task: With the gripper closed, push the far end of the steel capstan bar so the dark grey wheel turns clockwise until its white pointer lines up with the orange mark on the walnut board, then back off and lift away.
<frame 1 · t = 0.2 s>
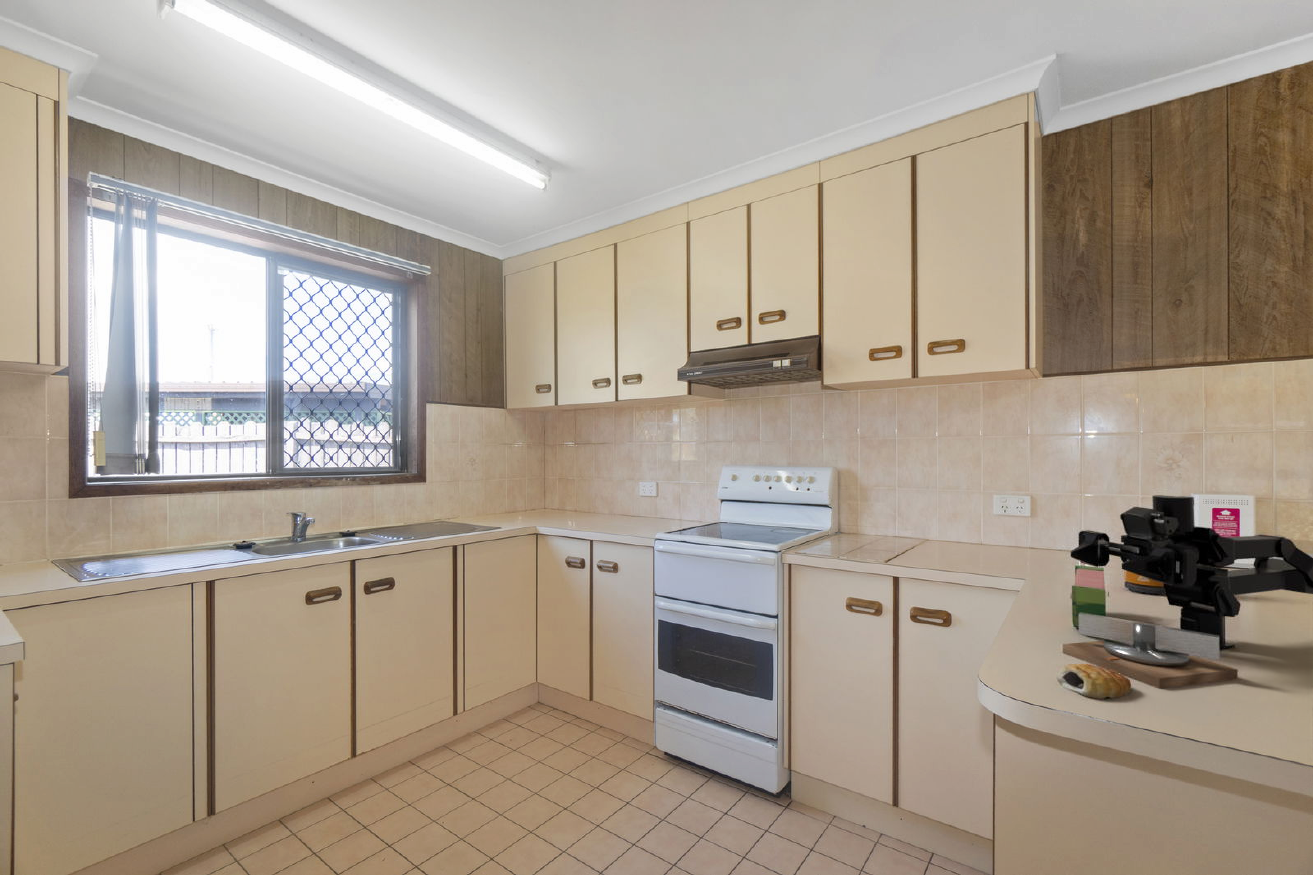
hand: (1095, 560, 104), 17 cm above the countertop, tool horizontal, fingers open, 9 cm apart
pastry: (1093, 692, 89), on the countertop
canister: (1152, 593, 150), on the countertop
dial board: (1145, 665, 99), on the countertop
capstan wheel: (1144, 639, 99), point 4 cm above the countertop, hinge at 0.0°
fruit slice: (1090, 626, 122), on the countertop
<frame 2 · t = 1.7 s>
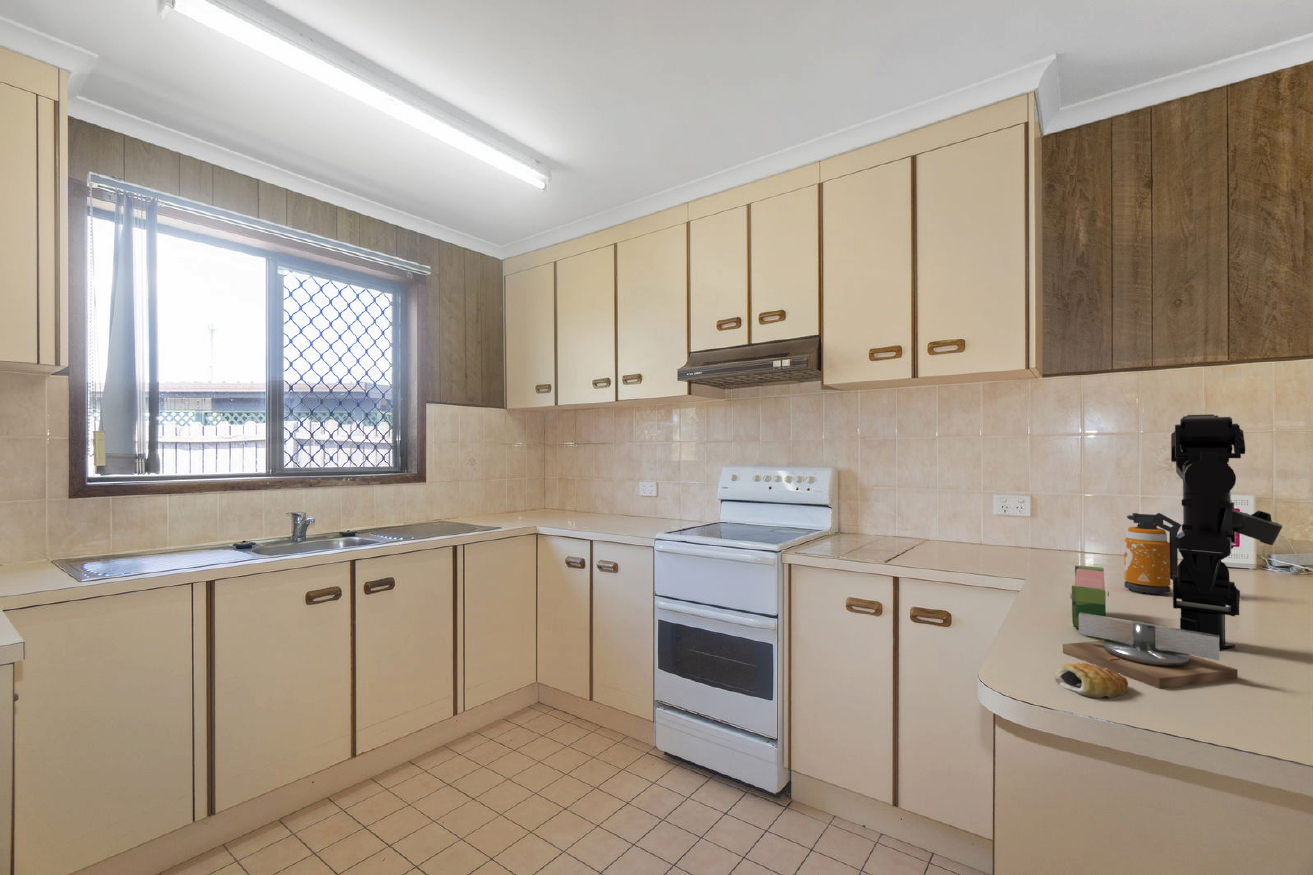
hand: (1207, 589, 97), 13 cm above the countertop, tool pointing down, fingers open, 6 cm apart
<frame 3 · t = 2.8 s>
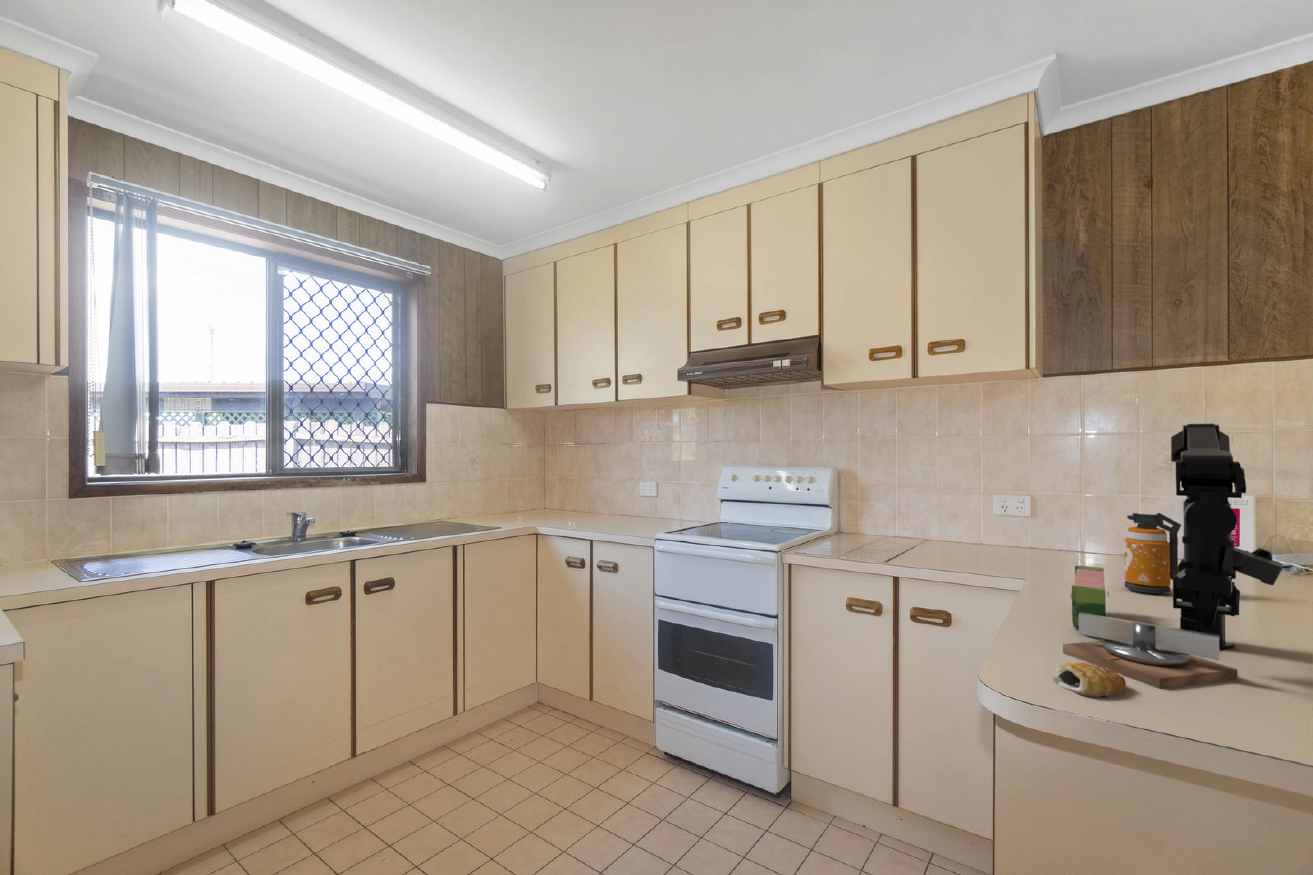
hand: (1207, 627, 97), 7 cm above the countertop, tool pointing down, fingers closed
nothing on the countertop moved.
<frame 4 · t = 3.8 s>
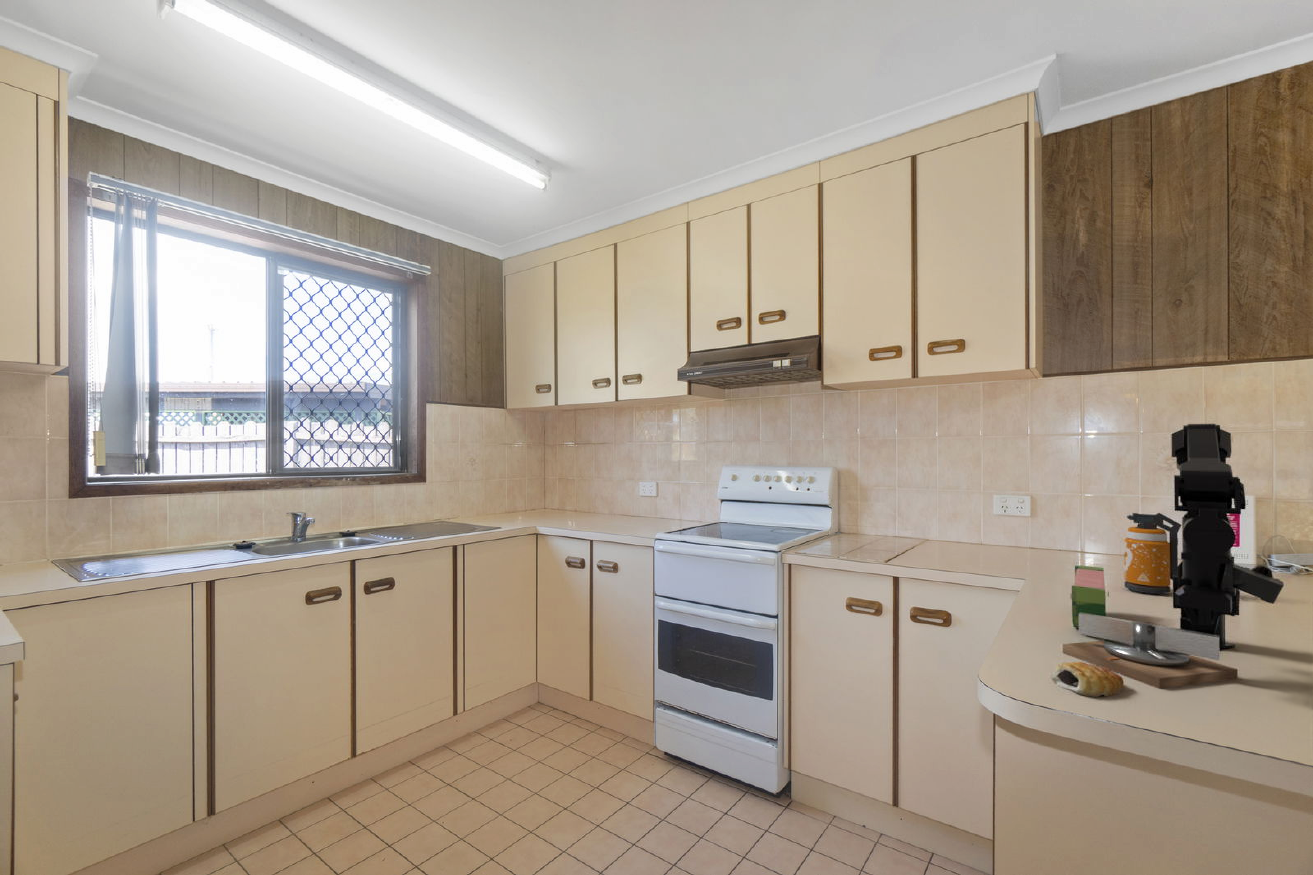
hand: (1207, 645, 95), 5 cm above the countertop, tool pointing down, fingers closed
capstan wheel: (1144, 639, 99), point 4 cm above the countertop, hinge at 0.0°, touching gripper
everything else where it was.
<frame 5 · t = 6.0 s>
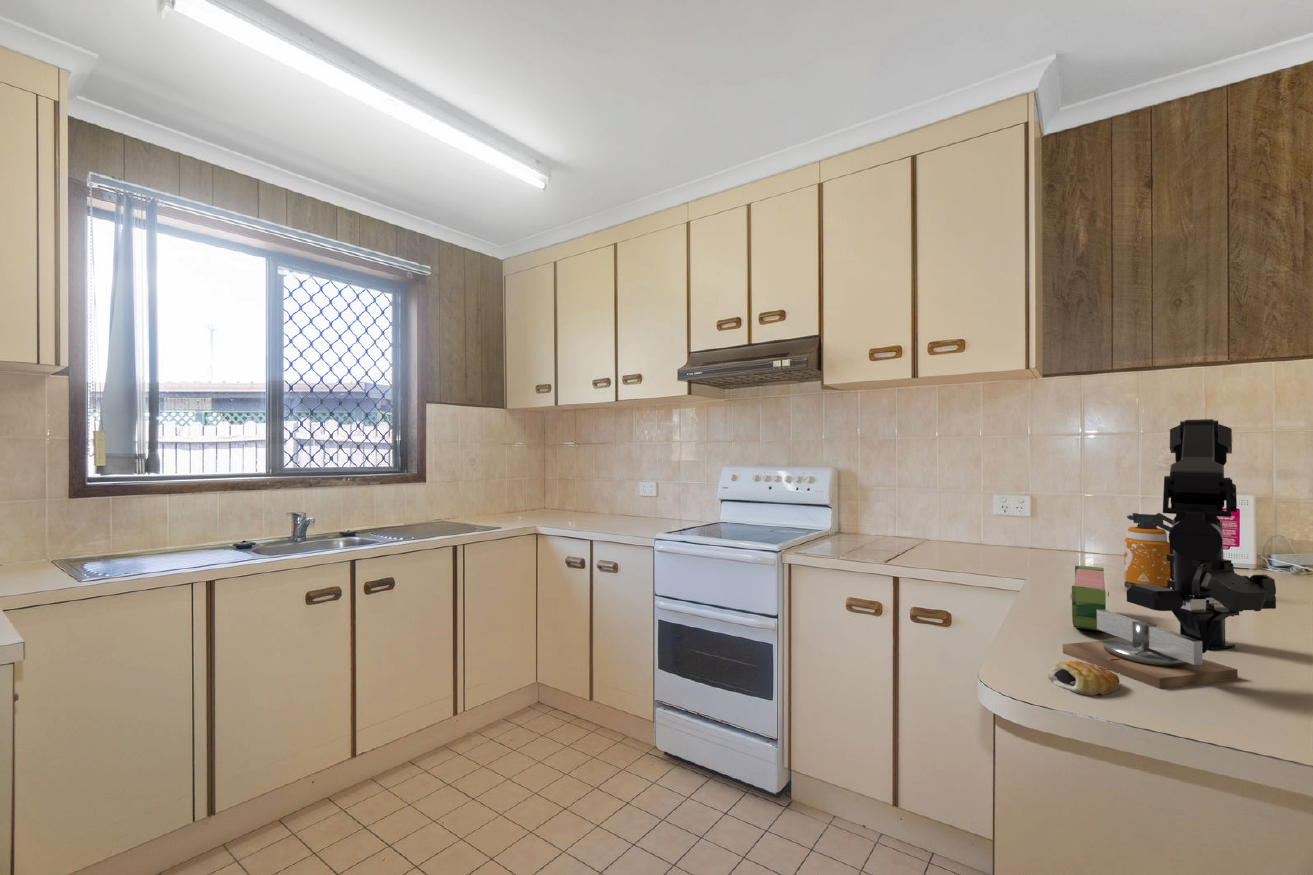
hand: (1200, 652, 92), 5 cm above the countertop, tool pointing down, fingers closed
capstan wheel: (1144, 639, 99), point 4 cm above the countertop, hinge at 39.6°, touching gripper
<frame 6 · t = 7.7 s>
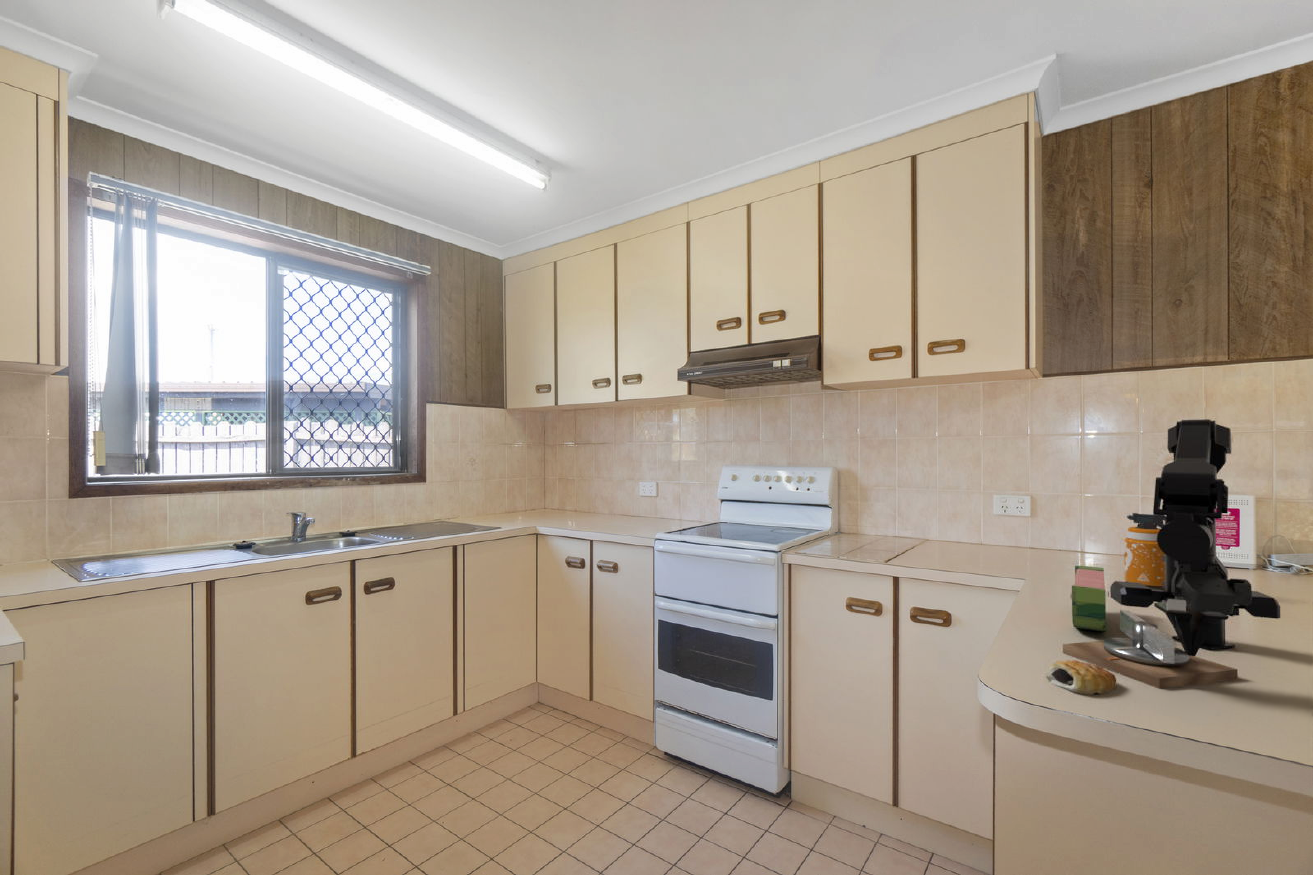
hand: (1190, 655, 91), 4 cm above the countertop, tool pointing down, fingers closed
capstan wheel: (1144, 639, 99), point 4 cm above the countertop, hinge at 65.3°
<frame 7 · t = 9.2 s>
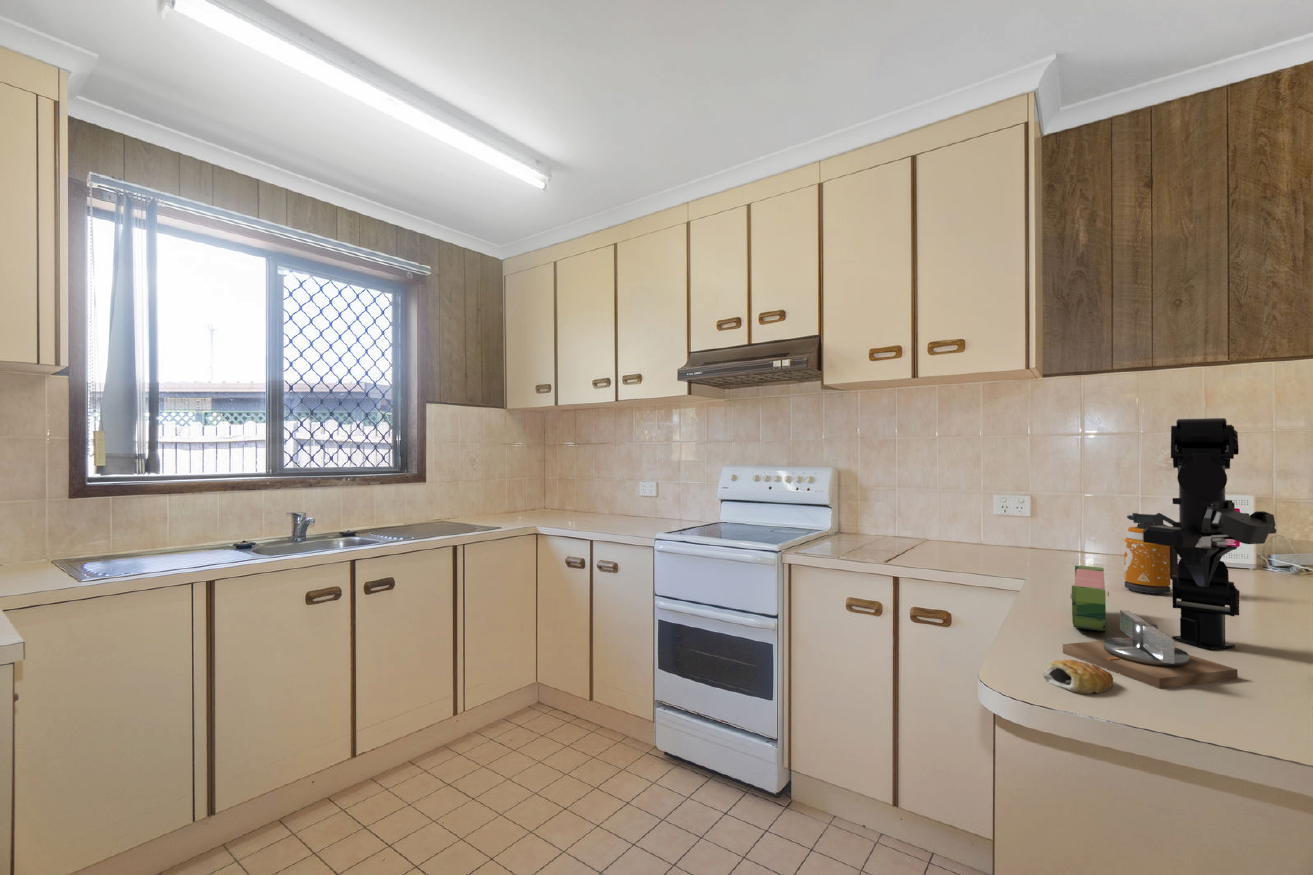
hand: (1202, 586, 100), 13 cm above the countertop, tool pointing down, fingers closed
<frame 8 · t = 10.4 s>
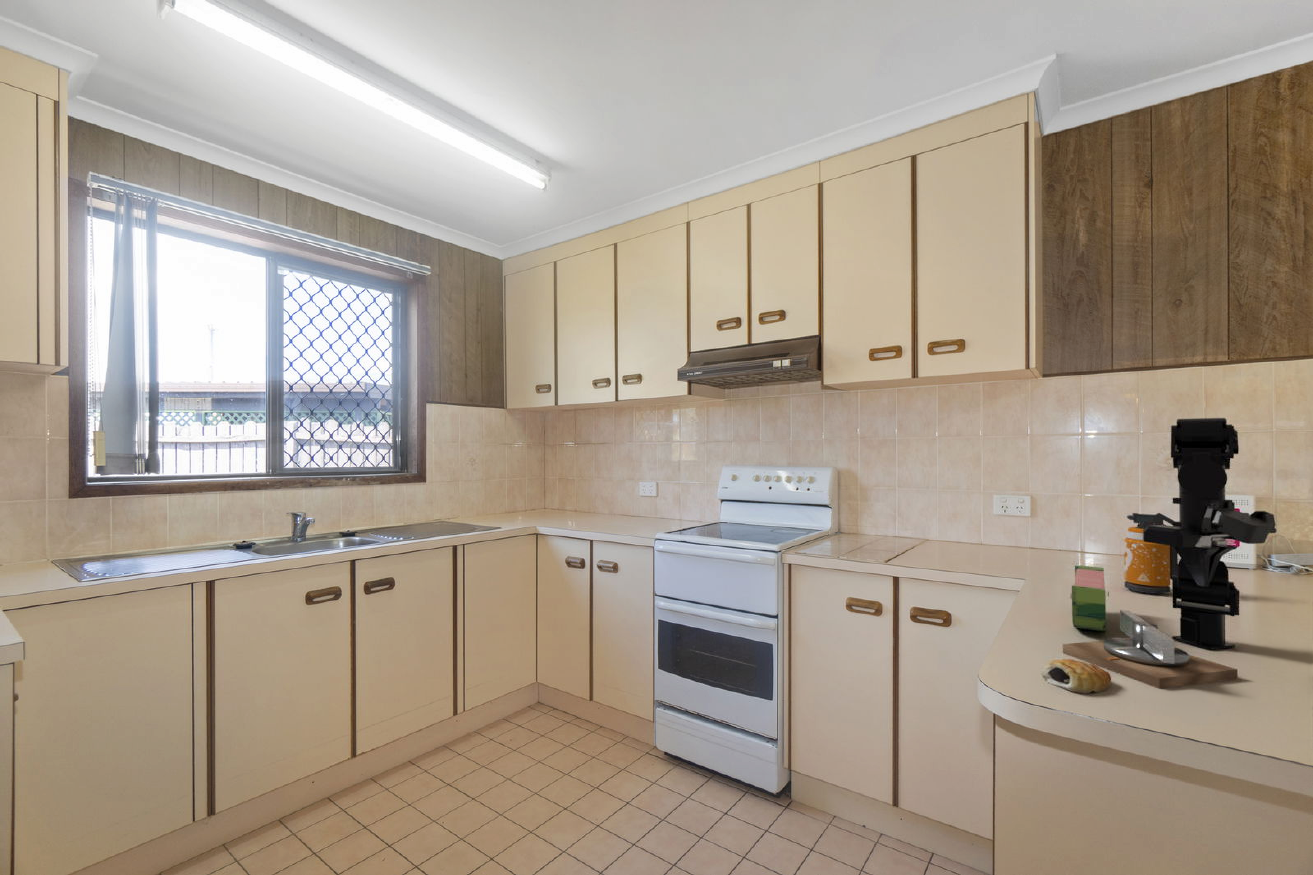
hand: (1202, 586, 100), 13 cm above the countertop, tool pointing down, fingers closed
at the end: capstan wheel at +65° (first picture: +0°); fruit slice moved 0.3 cm from its start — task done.
